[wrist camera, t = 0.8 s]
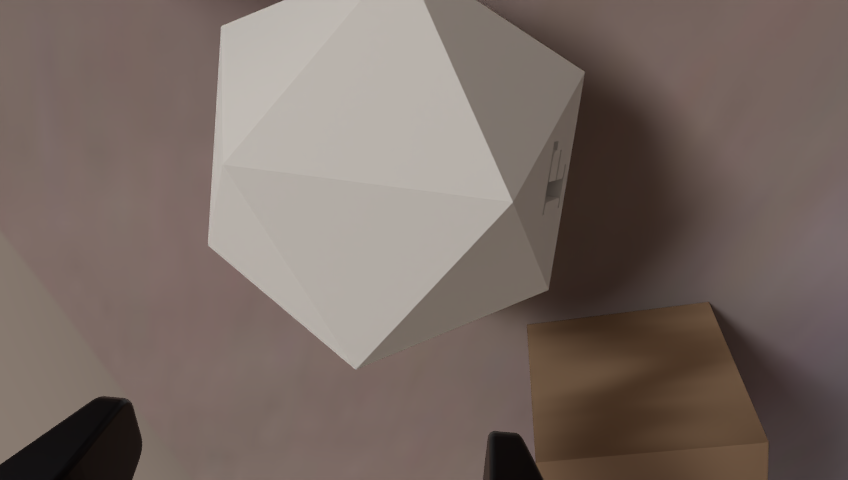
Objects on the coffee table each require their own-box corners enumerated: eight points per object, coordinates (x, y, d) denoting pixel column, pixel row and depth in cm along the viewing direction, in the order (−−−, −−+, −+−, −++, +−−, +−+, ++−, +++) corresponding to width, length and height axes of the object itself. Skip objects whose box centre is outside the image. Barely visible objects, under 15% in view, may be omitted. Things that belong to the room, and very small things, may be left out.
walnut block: (708, 300, 23) (768, 442, 18) (711, 426, 26) (763, 578, 21) (527, 323, 24) (535, 462, 19) (550, 441, 27) (563, 588, 22)
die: (427, 271, 24) (644, 395, 16) (151, 276, 19) (247, 456, 11) (459, 15, 22) (726, -2, 14) (165, -43, 18) (291, -121, 9)
